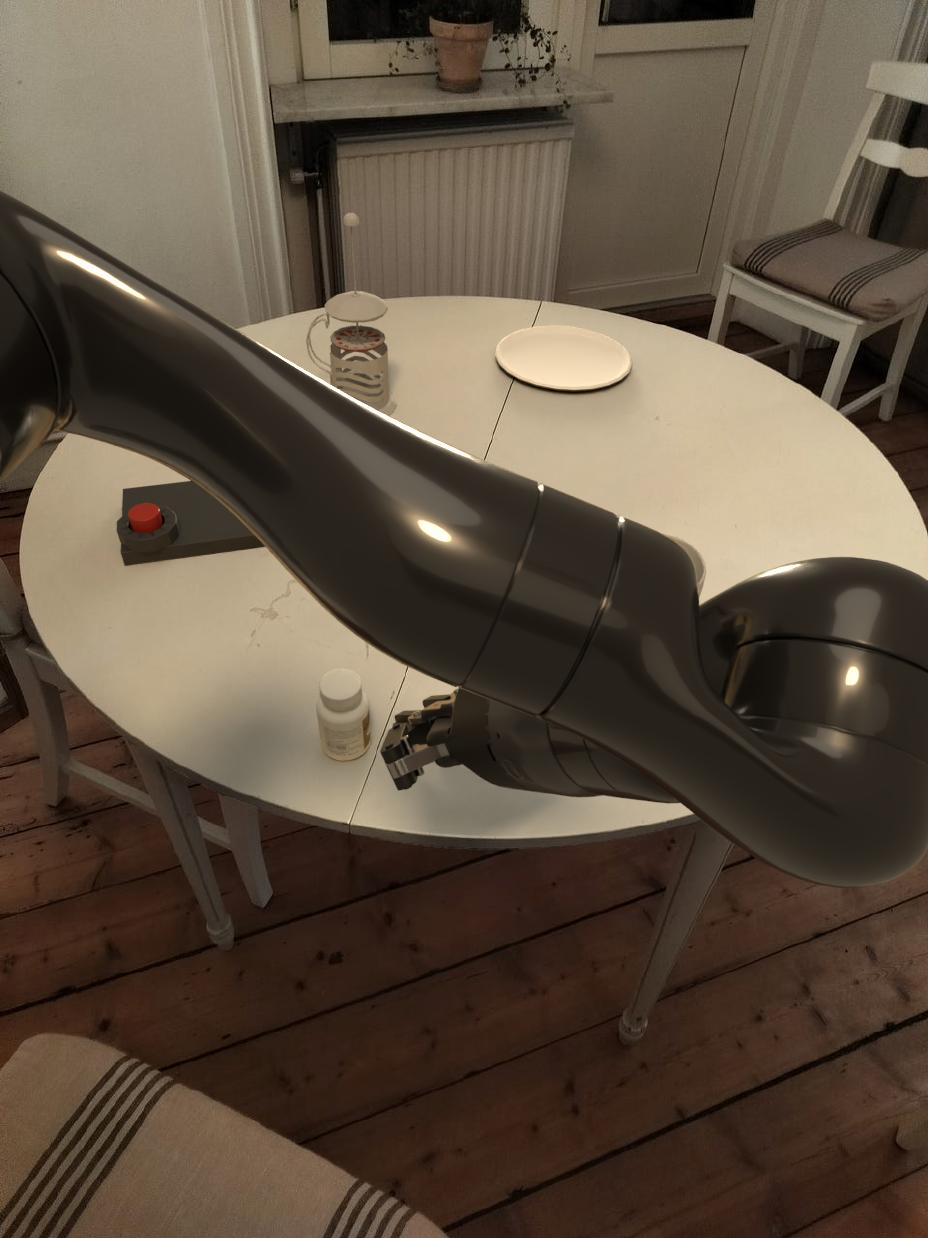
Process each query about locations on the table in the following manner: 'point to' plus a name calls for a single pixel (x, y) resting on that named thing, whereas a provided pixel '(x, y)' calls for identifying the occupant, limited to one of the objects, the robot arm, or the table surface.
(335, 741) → the pill bottle
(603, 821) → the table surface
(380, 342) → the french press
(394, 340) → the table surface
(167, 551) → the black button box
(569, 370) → the plate
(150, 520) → the button
